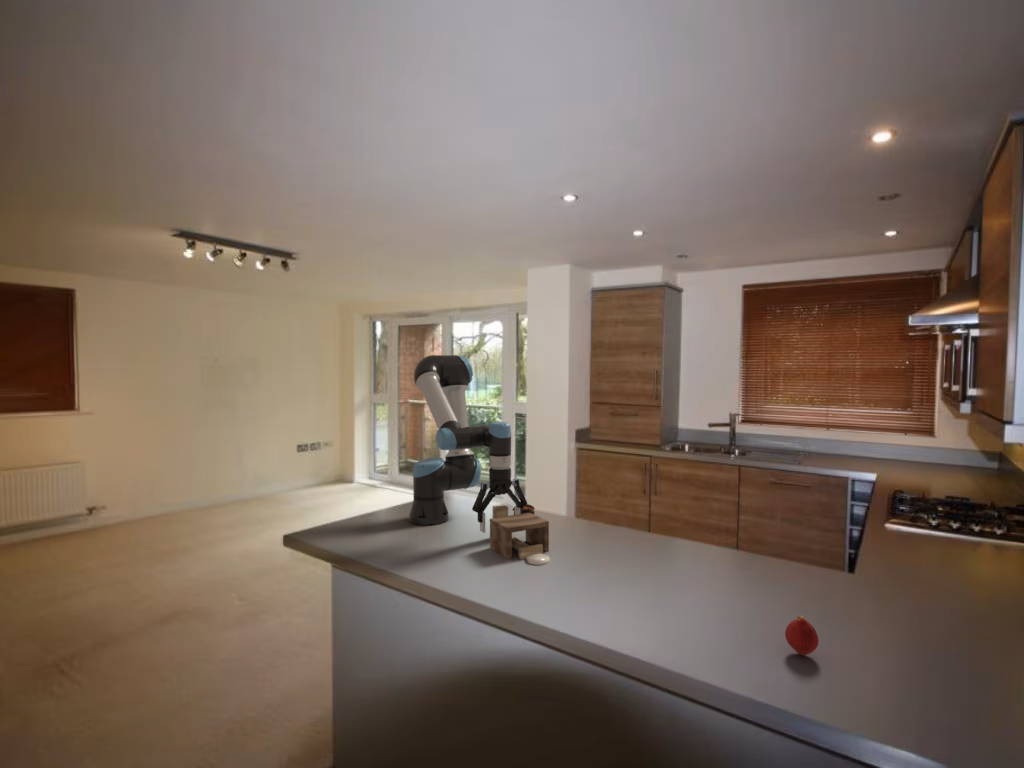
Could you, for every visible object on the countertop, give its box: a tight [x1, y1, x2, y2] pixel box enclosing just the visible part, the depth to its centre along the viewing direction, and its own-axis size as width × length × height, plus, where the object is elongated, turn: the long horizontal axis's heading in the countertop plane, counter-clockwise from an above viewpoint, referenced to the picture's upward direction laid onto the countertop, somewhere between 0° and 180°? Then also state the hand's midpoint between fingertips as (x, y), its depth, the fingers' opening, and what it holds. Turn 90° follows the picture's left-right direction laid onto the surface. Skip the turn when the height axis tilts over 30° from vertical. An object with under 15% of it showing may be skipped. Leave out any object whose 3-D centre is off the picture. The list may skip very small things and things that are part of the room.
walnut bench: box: [489, 513, 550, 560], centre depth 167 cm, size 12×15×10 cm
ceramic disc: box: [526, 553, 551, 566], centre depth 157 cm, size 7×7×1 cm
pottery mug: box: [512, 503, 536, 515], centre depth 197 cm, size 12×10×8 cm
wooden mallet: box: [492, 503, 544, 560], centre depth 170 cm, size 23×8×11 cm, turn 29°
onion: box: [784, 615, 820, 656], centre depth 105 cm, size 6×6×8 cm
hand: (500, 528), depth 179 cm, fingers open, 13 cm apart
